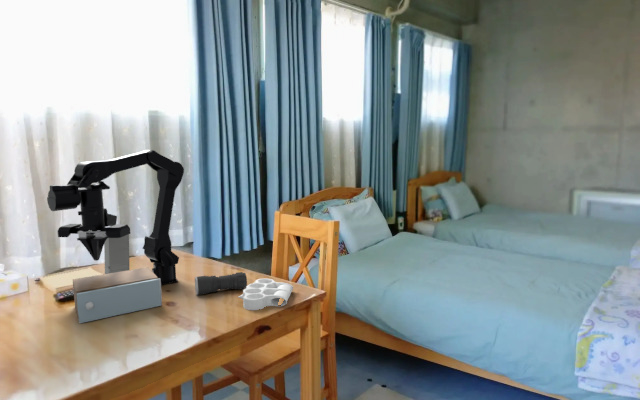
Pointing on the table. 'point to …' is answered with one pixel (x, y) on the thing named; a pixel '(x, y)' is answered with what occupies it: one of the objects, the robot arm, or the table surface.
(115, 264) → the skincare box
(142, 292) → the door
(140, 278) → the cubby
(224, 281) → the flashlight
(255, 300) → the white multi-hole tray
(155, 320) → the table surface
